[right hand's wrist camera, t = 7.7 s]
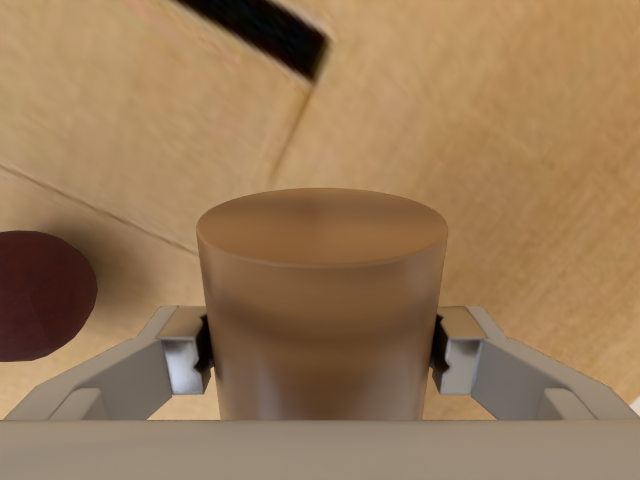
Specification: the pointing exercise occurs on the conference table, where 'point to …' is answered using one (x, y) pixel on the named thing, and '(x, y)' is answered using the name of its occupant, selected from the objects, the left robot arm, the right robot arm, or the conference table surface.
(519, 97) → the conference table surface
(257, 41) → the conference table surface
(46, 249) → the potato
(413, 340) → the cylinder
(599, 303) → the conference table surface
